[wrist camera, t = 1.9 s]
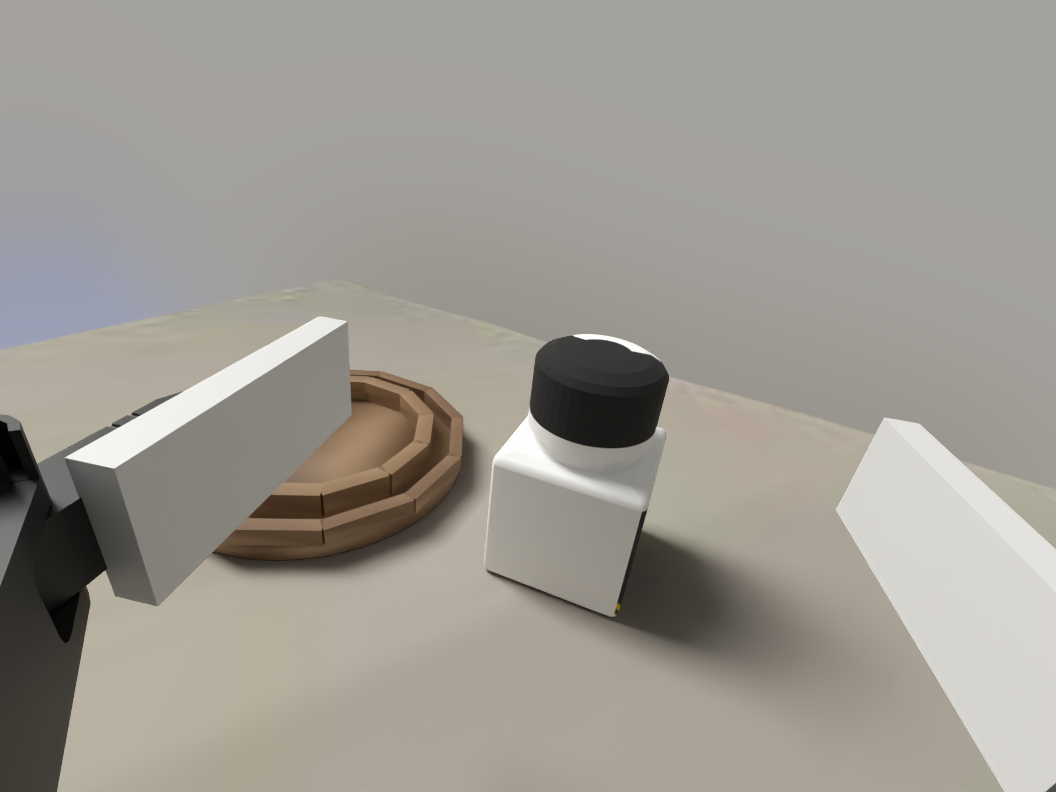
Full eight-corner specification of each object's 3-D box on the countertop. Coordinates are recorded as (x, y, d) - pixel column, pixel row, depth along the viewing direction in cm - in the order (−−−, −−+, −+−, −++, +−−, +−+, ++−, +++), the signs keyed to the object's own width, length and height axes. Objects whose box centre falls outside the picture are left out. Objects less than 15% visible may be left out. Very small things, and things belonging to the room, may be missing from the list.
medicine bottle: (615, 623, 24) (676, 403, 18) (480, 570, 26) (498, 358, 20) (640, 529, 30) (692, 342, 24) (529, 492, 32) (554, 312, 26)
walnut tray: (463, 397, 42) (464, 370, 41) (457, 561, 26) (459, 524, 25) (234, 386, 39) (228, 357, 38) (75, 559, 24) (57, 519, 23)
